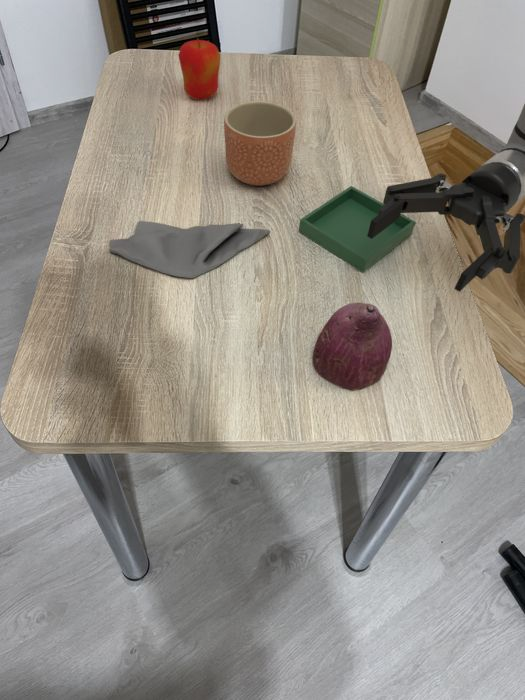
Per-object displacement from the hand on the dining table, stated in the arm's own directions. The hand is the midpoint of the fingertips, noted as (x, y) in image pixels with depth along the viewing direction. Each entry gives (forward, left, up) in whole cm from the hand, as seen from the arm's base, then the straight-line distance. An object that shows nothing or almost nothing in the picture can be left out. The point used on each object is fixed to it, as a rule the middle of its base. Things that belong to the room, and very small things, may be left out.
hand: (413, 255), depth 69 cm
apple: (+68, -24, -13) cm, 73 cm away
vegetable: (0, +10, -13) cm, 16 cm away
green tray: (+16, -12, -13) cm, 24 cm away
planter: (+39, -12, -13) cm, 43 cm away
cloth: (+32, +11, -13) cm, 36 cm away
